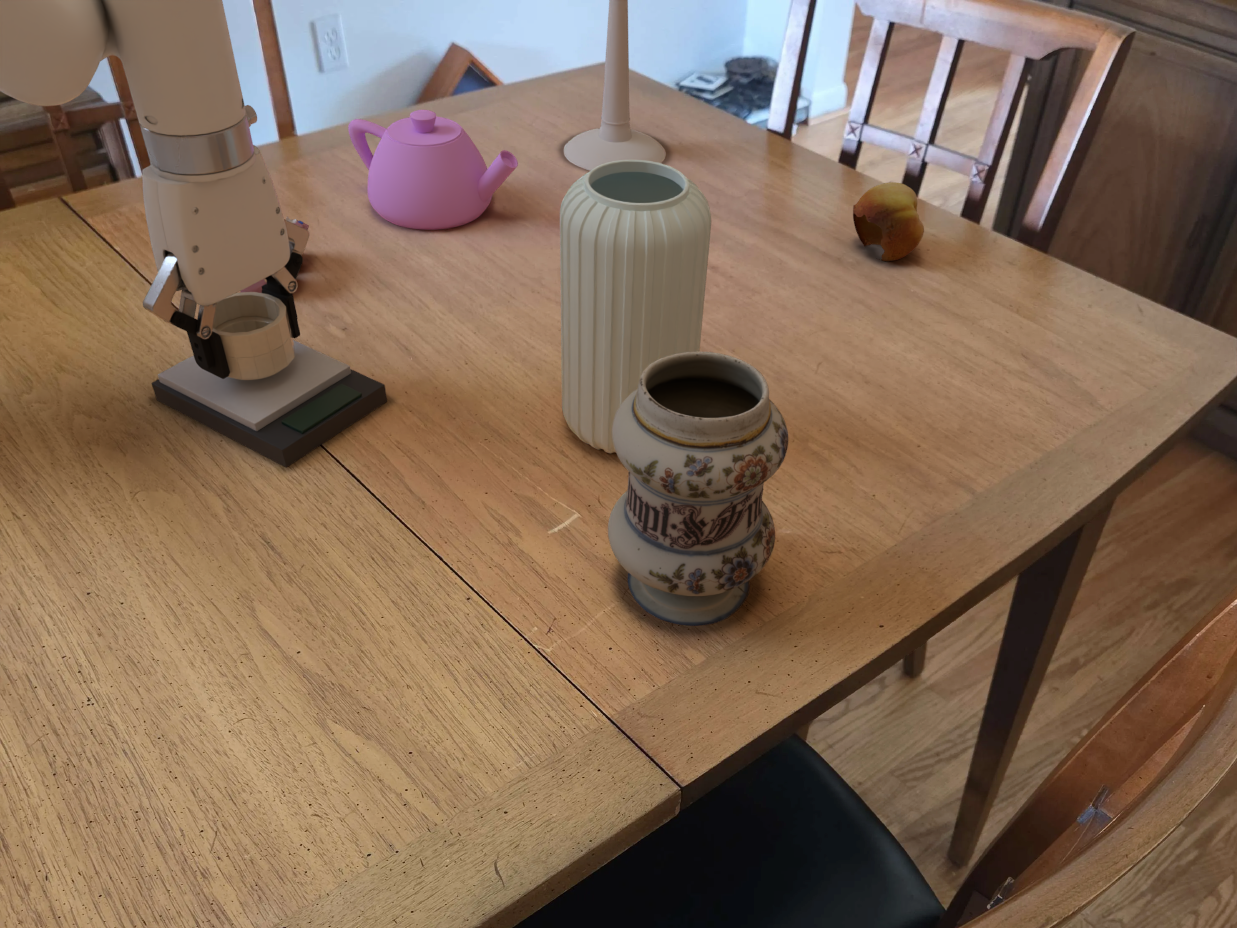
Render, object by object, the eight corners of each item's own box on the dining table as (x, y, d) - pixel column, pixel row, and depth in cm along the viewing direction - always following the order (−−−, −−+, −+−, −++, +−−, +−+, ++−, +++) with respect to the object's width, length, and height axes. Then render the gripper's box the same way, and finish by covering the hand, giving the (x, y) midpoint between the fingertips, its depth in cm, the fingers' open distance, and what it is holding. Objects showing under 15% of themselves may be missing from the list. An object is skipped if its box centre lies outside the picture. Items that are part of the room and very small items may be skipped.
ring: (193, 365, 94) (178, 317, 91) (256, 330, 98) (244, 283, 95) (251, 393, 91) (238, 345, 88) (313, 357, 96) (303, 309, 92)
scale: (158, 406, 97) (148, 374, 94) (262, 348, 104) (255, 317, 101) (287, 473, 91) (280, 441, 88) (388, 407, 98) (383, 376, 96)
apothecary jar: (713, 519, 89) (736, 319, 76) (796, 613, 82) (837, 410, 69) (579, 563, 85) (579, 358, 72) (654, 666, 77) (669, 460, 64)
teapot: (495, 254, 118) (489, 154, 111) (329, 220, 122) (313, 122, 114) (543, 202, 127) (541, 106, 120) (388, 172, 131) (376, 78, 124)
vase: (716, 448, 96) (744, 198, 80) (600, 485, 91) (605, 229, 75) (650, 381, 102) (664, 139, 86) (539, 413, 98) (532, 164, 82)
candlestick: (557, 138, 140) (553, -145, 119) (655, 134, 142) (669, -144, 121) (571, 181, 132) (570, -116, 110) (675, 177, 134) (694, -115, 112)
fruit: (897, 282, 118) (914, 209, 112) (830, 257, 121) (843, 185, 115) (929, 256, 122) (947, 185, 116) (864, 233, 125) (878, 163, 120)
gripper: (253, 95, 88) (295, 298, 101) (65, 167, 78) (138, 382, 90) (321, 119, 85) (355, 324, 98) (135, 196, 75) (200, 414, 88)
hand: (250, 350), depth 94 cm, fingers closed on ring, 7 cm apart
